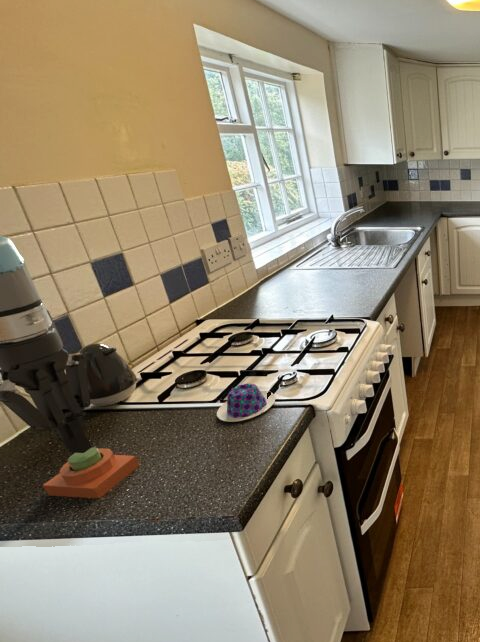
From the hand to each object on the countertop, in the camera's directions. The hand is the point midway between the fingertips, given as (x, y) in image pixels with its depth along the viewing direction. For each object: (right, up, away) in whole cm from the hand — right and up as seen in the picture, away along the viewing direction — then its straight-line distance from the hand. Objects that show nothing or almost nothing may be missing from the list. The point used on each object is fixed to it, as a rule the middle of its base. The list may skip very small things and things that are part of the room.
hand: (80, 449), depth 75 cm
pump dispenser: (-19, +3, +26) cm, 33 cm away
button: (0, -3, +1) cm, 3 cm away
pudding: (+15, +2, +23) cm, 28 cm away
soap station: (0, -7, +3) cm, 7 cm away
